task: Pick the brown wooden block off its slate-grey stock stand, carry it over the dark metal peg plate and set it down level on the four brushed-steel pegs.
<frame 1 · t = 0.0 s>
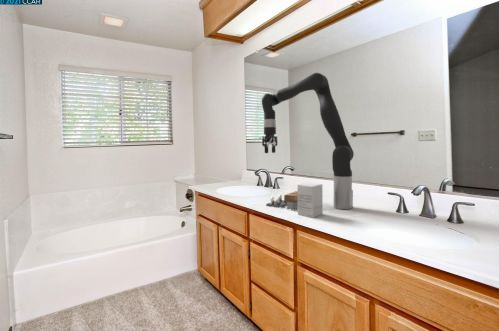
hand: (270, 152, 172), 29 cm above the worktop, fingers open, 8 cm apart
peg base: (279, 204, 159), on the worktop
stand: (295, 207, 151), on the worktop
brown wooden block: (295, 199, 151), point 4 cm above the worktop, touching stand
supplement box: (310, 214, 135), on the worktop
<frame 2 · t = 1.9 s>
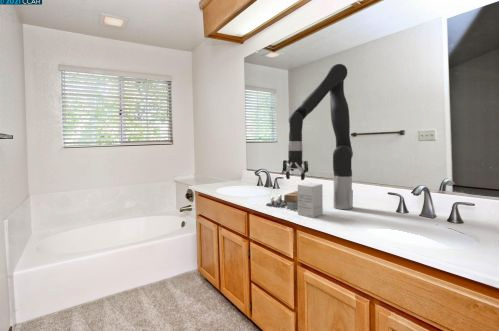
hand: (295, 179, 150), 15 cm above the worktop, fingers open, 8 cm apart
nothing on the worktop moved.
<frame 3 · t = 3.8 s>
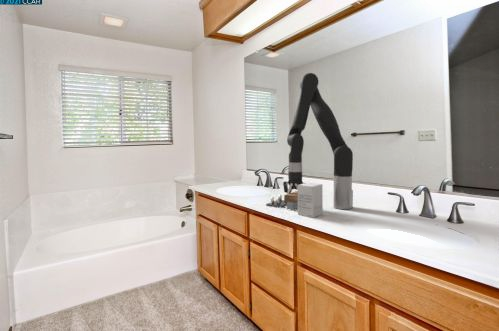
hand: (295, 200, 151), 3 cm above the worktop, fingers closed on brown wooden block, 6 cm apart
brown wooden block: (295, 199, 151), point 4 cm above the worktop, touching gripper, stand
everything else where it was.
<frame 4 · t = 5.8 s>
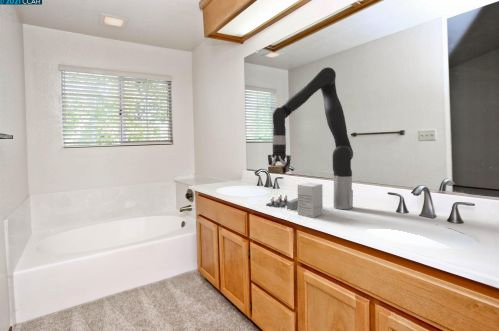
hand: (279, 173, 157), 18 cm above the worktop, fingers closed on brown wooden block, 6 cm apart
brown wooden block: (279, 172, 157), point 19 cm above the worktop, touching gripper
everything else where it was.
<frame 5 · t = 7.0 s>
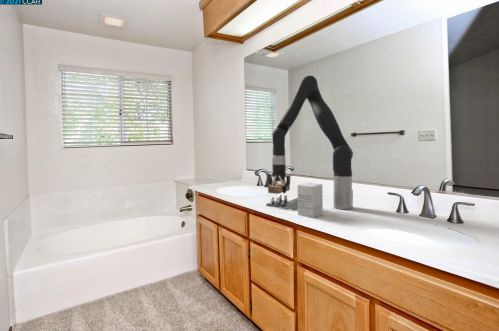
hand: (279, 192, 158), 7 cm above the worktop, fingers closed on brown wooden block, 6 cm apart
brown wooden block: (279, 191, 158), point 8 cm above the worktop, touching gripper
everything else where it was.
when the fingers open (5 cm above the worktop, at t = 7.9 s): brown wooden block stays where it is, resting on peg base.
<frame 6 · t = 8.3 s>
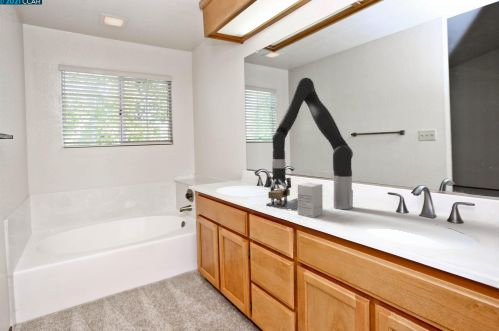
hand: (279, 195, 158), 5 cm above the worktop, fingers open, 8 cm apart
brown wooden block: (279, 196, 158), point 4 cm above the worktop, touching peg base
everything else where it was.
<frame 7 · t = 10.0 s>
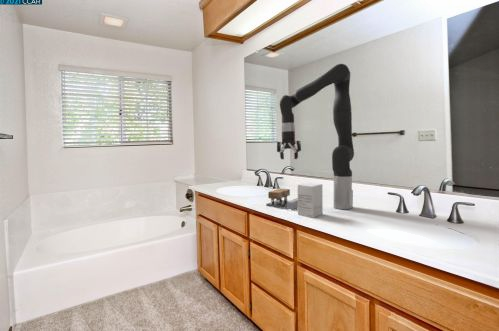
hand: (289, 159, 159), 26 cm above the worktop, fingers open, 8 cm apart
nothing on the worktop moved.
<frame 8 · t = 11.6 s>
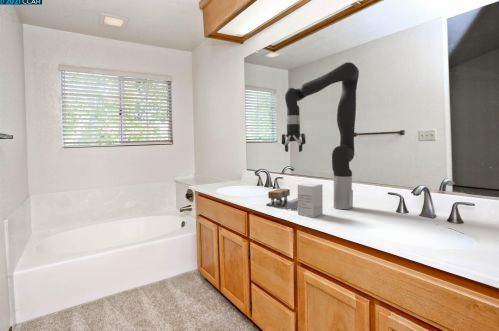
hand: (293, 151, 160), 30 cm above the worktop, fingers open, 8 cm apart
nothing on the worktop moved.
at the end: brown wooden block 0.1 cm off-centre on the peg base, point 4.5 cm above the peg base's base; brown wooden block tilted 0°; the gripper is holding nothing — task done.
